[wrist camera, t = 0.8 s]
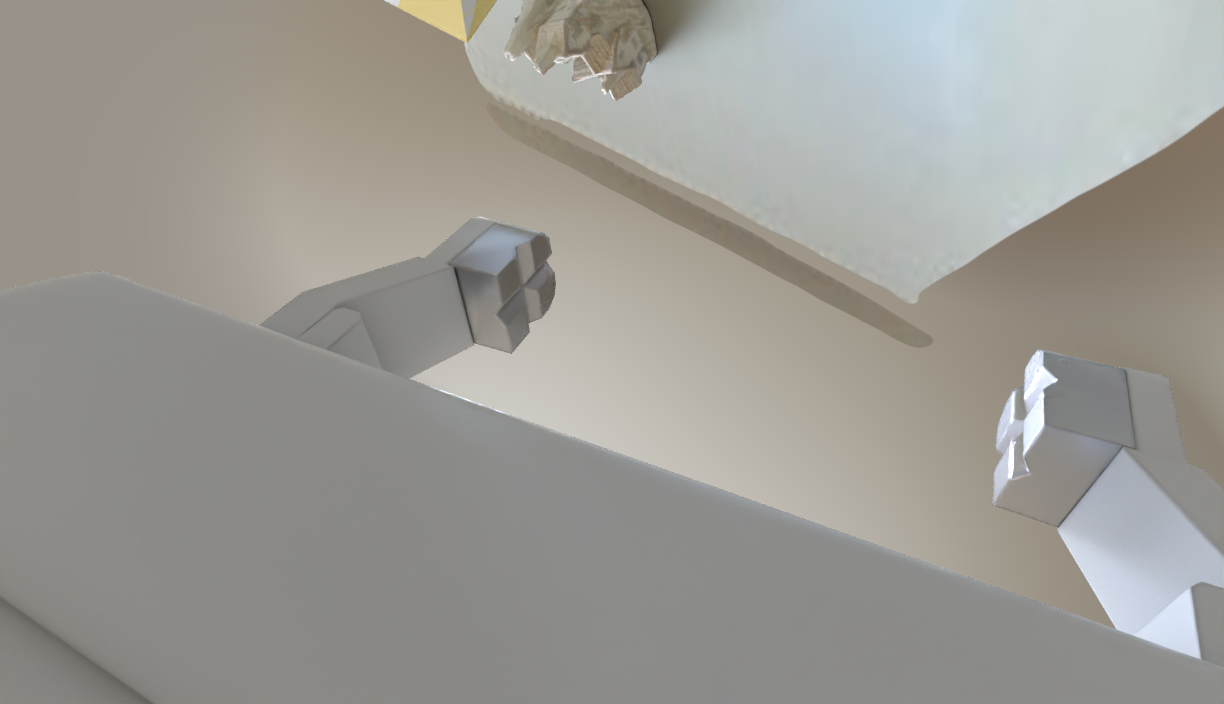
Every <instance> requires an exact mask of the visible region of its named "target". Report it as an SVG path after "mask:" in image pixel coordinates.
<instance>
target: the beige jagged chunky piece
mask: <svg viewBox="0 0 1224 704" xmlns="http://www.w3.org/2000/svg"><path fill="white" fill-rule="evenodd" d="M514 20H515V23H516V24H515V26H514V28H513V29H512V32H511V36H510V39H509V41H508V43H507V45H506V47H505V50H504V54H505V55H506V57H507V58H508V59H509V60H511V61H514V60H515V59H517V58H518V57H520V55H521V54H522V53H523V52H524V53H525V54H526V56H527V57H528V58H529V60H530V61H531V62H532V63H533V66H534V68H535V69H536V70H537V71H538V72H540V74H541V75H544V74H545V73H546V72H547V71H548V69H550V68H551V67H552V66H553V65H554V64H555V63H556V62H557V63H559V64H561V63H563V64H566V63H568V61H569V60H571V59H572V58H573V77H572V80H573V82H574V83H575V82H579V81H582V80H585V79H587V78H590V77H595V76H598V78H599V79H600V80H601V81H602V83H601V86H600V89H601V91H602V92H603V94H605V95H606V94H607V93H608V91H610V93H611V95H612V98H613V100H618V99H619V98H622V97H624V95H626V94H628V93H629V92H632V91H633V90H634V89H636V88H637V87H639V86H640V85H641V84H642V80H641V76H642V74H643V72H644V69H645V67H646V65H647V64H649V63H650V62H651V61H652V60H653V59H654V58H655V56H656V55H657V49H656V45H655V37H654V33H653V28H652V24H651V23H652V22H651V18H650V17H649V14H648V11H647V9H646V7H645V6H644V5H643V2H642V1H641V0H523V2H522V9H521V14H520V15H519V16H518V17H517V18H514Z"/></svg>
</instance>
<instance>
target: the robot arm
mask: <svg viewBox="0 0 1224 704" xmlns="http://www.w3.org/2000/svg"><path fill="white" fill-rule="evenodd" d="M551 254H552V251H551V245H550V239H549V237H547V236H546V235H545V234H544V233H542V232H537V231H534V230H529V229H526V228H522V227H518V226H515V225H510V224H506V223H503V222H498V221H494V220H490V219H486V218H482V217H476V218H471V219H470V220H469V221H468V222H467V223H466V224H464V225H463V226H462V227H461V228H460V229H458V230H457V231H456V232H455V233H454V234H453V235H451V236H450V237H449V238H448V239H447V240H446V241H444V242H443V243H442V244H441V245H440V246H439V247H438V248H436V249H435V250H434V251H433V252H432V253H430V254H429V255H428V256H427V257H426V258H420V257H416V258H413V259H409V260H406V261H403V262H400V263H396V264H393V265H390V266H386V267H383V268H380V269H377V270H374V271H370V272H367V273H364V274H360V275H357V276H354V277H350V278H347V279H344V280H341V281H337V282H334V283H331V284H327V285H324V286H321V287H318V288H314V289H311V290H308V291H305V292H302V293H301V294H299V295H298V296H297V297H295V298H294V299H293V300H292V301H290V302H289V303H288V304H286V305H285V306H284V307H282V308H281V309H280V310H278V311H277V312H276V313H274V314H273V315H272V316H271V317H269V318H268V319H267V320H265V321H264V322H263V323H261V324H260V325H259V326H258V325H256V324H253V323H250V322H247V321H244V320H241V319H239V318H236V317H233V316H230V315H227V314H224V313H221V312H219V311H216V310H213V309H210V308H208V307H205V306H202V305H199V304H196V303H193V302H191V301H188V300H185V299H182V298H179V297H177V296H174V295H171V294H168V293H165V292H163V291H160V290H157V289H154V288H151V287H148V286H146V285H143V284H140V283H138V282H135V281H132V280H130V279H127V278H124V277H122V276H119V275H116V274H112V273H107V272H100V271H99V272H98V271H97V272H87V273H80V274H74V275H68V276H63V277H57V278H52V279H47V280H43V281H38V282H34V283H30V284H25V285H21V286H16V287H12V288H8V289H4V290H0V704H1224V489H1223V488H1222V487H1221V486H1219V485H1218V484H1217V483H1216V482H1215V481H1214V480H1213V479H1212V478H1211V477H1210V476H1209V475H1208V474H1207V473H1206V472H1205V471H1204V470H1203V469H1202V468H1200V467H1197V466H1193V465H1189V464H1188V463H1187V459H1186V454H1185V449H1184V445H1183V441H1182V436H1181V430H1180V426H1179V421H1178V416H1177V412H1176V407H1175V403H1174V398H1173V393H1172V388H1171V383H1170V381H1169V380H1168V379H1167V378H1166V377H1165V376H1163V375H1158V374H1154V373H1149V372H1143V371H1139V370H1134V369H1129V368H1125V367H1120V368H1119V367H1114V366H1110V365H1106V364H1101V363H1096V362H1092V361H1088V360H1084V359H1080V358H1075V357H1071V356H1066V355H1062V354H1058V353H1053V352H1049V351H1045V350H1040V349H1039V350H1038V351H1037V352H1036V353H1035V354H1034V355H1033V356H1032V358H1031V360H1030V361H1029V363H1028V365H1027V367H1026V369H1025V385H1024V386H1022V387H1020V388H1017V389H1015V390H1013V392H1012V394H1011V396H1010V398H1009V400H1008V402H1007V404H1006V405H1005V408H1004V411H1003V414H1002V416H1001V419H1000V422H999V427H998V432H997V439H996V449H997V450H998V452H999V453H1000V454H1001V456H1002V459H1001V460H1000V462H999V464H998V465H997V467H996V469H995V471H994V489H993V505H994V506H996V507H999V508H1002V509H1005V510H1008V511H1011V512H1014V513H1017V514H1020V515H1023V516H1026V517H1029V518H1032V519H1035V520H1037V521H1040V522H1044V523H1046V524H1049V525H1052V526H1055V527H1058V529H1057V531H1058V532H1059V534H1060V536H1061V537H1062V539H1063V541H1064V542H1065V544H1066V546H1067V547H1068V549H1069V551H1070V552H1071V554H1072V556H1073V557H1074V559H1075V561H1076V562H1077V564H1078V566H1079V567H1080V569H1081V571H1082V572H1083V574H1084V576H1085V577H1086V579H1087V581H1088V582H1089V584H1090V586H1091V587H1092V589H1093V591H1094V592H1095V594H1096V596H1097V597H1098V599H1099V601H1100V602H1101V604H1102V606H1103V607H1104V609H1105V611H1106V612H1107V614H1108V616H1109V617H1110V619H1111V621H1112V622H1113V624H1114V626H1115V627H1116V629H1114V628H1111V627H1108V626H1105V625H1103V624H1100V623H1097V622H1094V621H1091V620H1088V619H1086V618H1082V617H1080V616H1077V615H1074V614H1071V613H1069V612H1066V611H1063V610H1060V609H1057V608H1054V607H1051V606H1049V605H1046V604H1043V603H1040V602H1038V601H1035V600H1032V599H1029V598H1026V597H1023V596H1020V595H1018V594H1015V593H1012V592H1009V591H1007V590H1004V589H1001V588H998V587H995V586H992V585H989V584H987V583H984V582H981V581H978V580H975V579H972V578H970V577H967V576H964V575H961V574H958V573H955V572H953V571H950V570H947V569H944V568H941V567H938V566H935V565H933V564H930V563H927V562H924V561H921V560H919V559H916V558H913V557H910V556H907V555H904V554H902V553H899V552H896V551H893V550H890V549H887V548H885V547H882V546H879V545H876V544H873V543H871V542H868V541H865V540H862V539H859V538H856V537H853V536H851V535H848V534H845V533H842V532H839V531H837V530H834V529H831V528H828V527H825V526H823V525H820V524H817V523H814V522H811V521H809V520H806V519H803V518H800V517H797V516H794V515H792V514H789V513H786V512H783V511H781V510H777V509H775V508H772V507H769V506H766V505H764V504H761V503H758V502H755V501H752V500H750V499H747V498H744V497H741V496H738V495H736V494H733V493H730V492H727V491H724V490H722V489H718V488H716V487H713V486H710V485H707V484H704V483H702V482H699V481H696V480H693V479H690V478H688V477H685V476H682V475H679V474H676V473H674V472H670V471H668V470H665V469H662V468H659V467H657V466H654V465H651V464H648V463H645V462H642V461H639V460H637V459H634V458H631V457H628V456H625V455H622V454H620V453H617V452H614V451H611V450H608V449H606V448H602V447H600V446H597V445H594V444H591V443H588V442H586V441H583V440H580V439H577V438H575V437H572V436H569V435H566V434H563V433H560V432H557V431H555V430H552V429H549V428H546V427H543V426H541V425H538V424H535V423H532V422H529V421H526V420H523V419H521V418H518V417H515V416H512V415H509V414H507V413H504V412H501V411H498V410H495V409H493V408H490V407H487V406H484V405H481V404H478V403H476V402H473V401H470V400H467V399H464V398H461V397H459V396H456V395H453V394H450V393H447V392H445V391H442V390H439V389H436V388H433V387H430V386H427V385H425V384H422V383H419V382H416V381H414V380H411V379H409V378H411V377H413V376H415V375H417V374H419V373H421V372H422V371H425V370H427V369H429V368H431V367H433V366H434V365H436V364H438V363H440V362H442V361H444V360H446V359H448V358H450V357H452V356H454V355H456V354H458V353H460V352H462V351H463V350H466V349H467V348H469V347H471V346H473V345H474V343H476V344H479V345H483V346H487V347H490V348H493V349H497V350H500V351H504V352H507V353H511V354H512V352H513V351H514V350H515V349H516V348H517V347H518V345H519V344H520V343H521V342H522V341H523V339H524V338H525V337H526V336H527V335H528V334H529V332H530V330H529V323H530V322H533V321H535V320H538V319H540V318H542V317H543V316H544V315H545V313H546V312H547V311H548V310H549V308H550V305H551V303H552V300H553V298H554V295H555V286H556V281H555V273H554V272H553V270H552V268H551V267H550V266H549V264H548V263H547V259H548V258H549V256H550V255H551Z"/></svg>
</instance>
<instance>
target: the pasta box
mask: <svg viewBox="0 0 1224 704" xmlns="http://www.w3.org/2000/svg"><path fill="white" fill-rule="evenodd" d="M385 1H386V2H388V3H390V4H392V5H394V6H396V7H398V8H400V9H402V10H404V11H406V12H408V13H410V14H412V15H414V16H416V17H417V18H419V19H421V20H423V21H425V22H427V23H429V24H431V25H433V26H435V27H437V28H439V29H441V30H443V31H445V32H446V33H449V34H451V35H452V36H454V37H456V38H458V39H460V40H462V41H464V42H466V43H468V41H469V40H470V39H471V37H472V36H473V34H474V33H475V31H476V30H477V28H478V27H479V26H480V24H481V23H482V21H483V20H484V18H485V17H486V15H487V14H488V13H489V11H490V10H491V8H492V7H493V5H494V4H495V2H496V1H497V0H385Z"/></svg>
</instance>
